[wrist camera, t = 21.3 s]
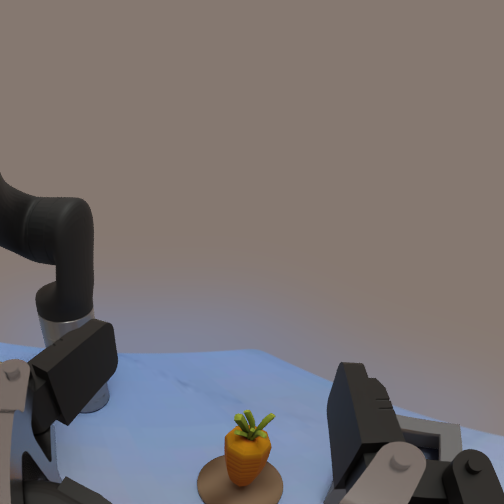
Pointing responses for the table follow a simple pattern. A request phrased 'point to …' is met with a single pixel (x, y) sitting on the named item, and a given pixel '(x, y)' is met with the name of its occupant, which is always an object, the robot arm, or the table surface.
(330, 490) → the box
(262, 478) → the walnut pad
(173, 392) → the table surface
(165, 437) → the table surface
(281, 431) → the table surface
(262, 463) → the carrot
